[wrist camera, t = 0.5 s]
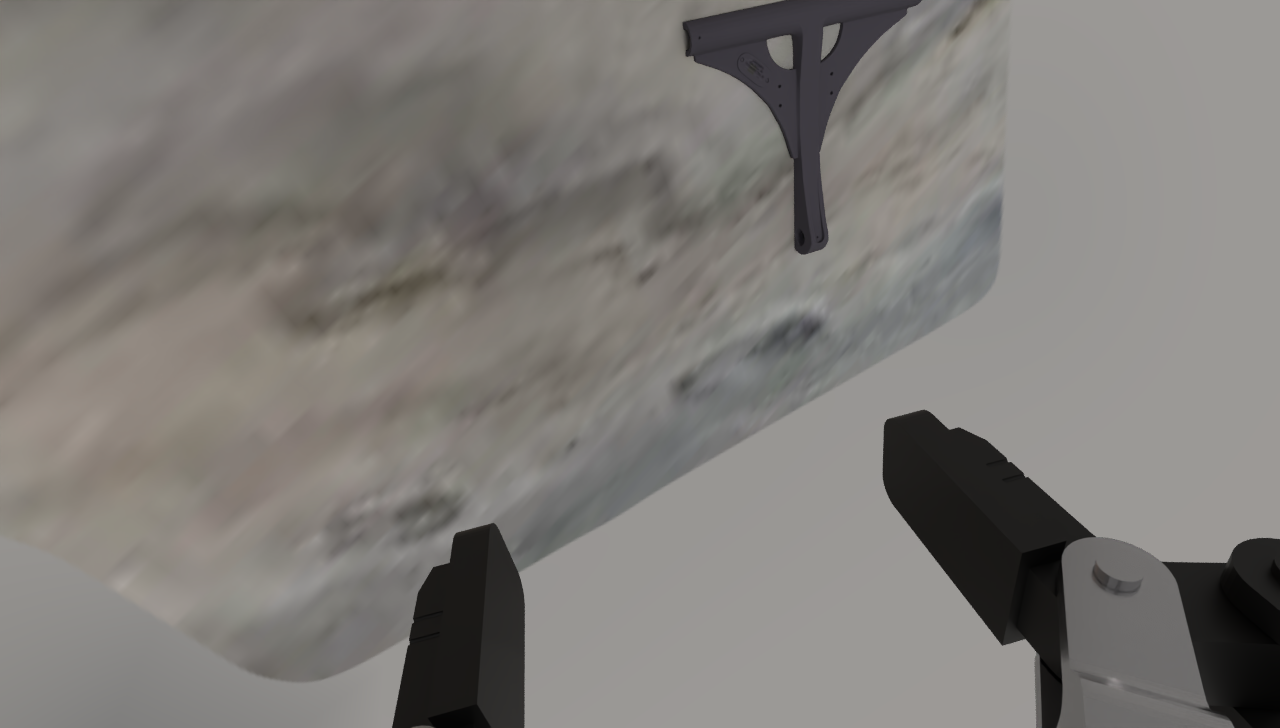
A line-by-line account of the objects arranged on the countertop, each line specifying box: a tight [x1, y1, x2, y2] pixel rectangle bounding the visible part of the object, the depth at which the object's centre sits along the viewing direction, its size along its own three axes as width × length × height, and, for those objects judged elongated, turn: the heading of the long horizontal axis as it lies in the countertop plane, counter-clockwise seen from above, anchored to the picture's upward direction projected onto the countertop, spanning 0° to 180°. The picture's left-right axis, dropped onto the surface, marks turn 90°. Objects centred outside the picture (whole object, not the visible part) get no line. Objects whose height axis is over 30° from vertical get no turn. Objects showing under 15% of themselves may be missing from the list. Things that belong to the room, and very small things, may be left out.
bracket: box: [683, 0, 921, 254], centre depth 36 cm, size 14×15×3 cm
